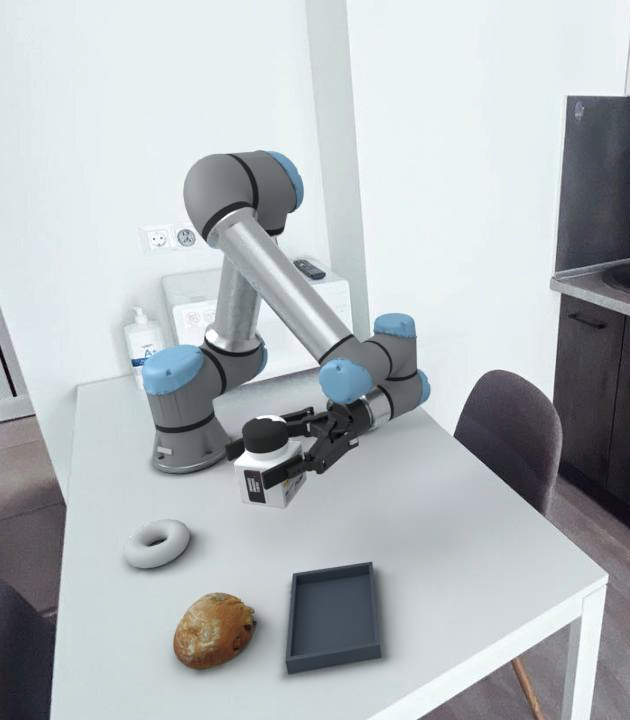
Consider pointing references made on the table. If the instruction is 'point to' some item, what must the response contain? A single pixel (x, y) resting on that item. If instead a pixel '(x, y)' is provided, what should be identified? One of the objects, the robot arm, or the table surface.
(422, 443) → the table surface
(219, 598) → the bread roll
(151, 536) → the donut
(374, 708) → the table surface
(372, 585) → the tray
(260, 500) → the container
